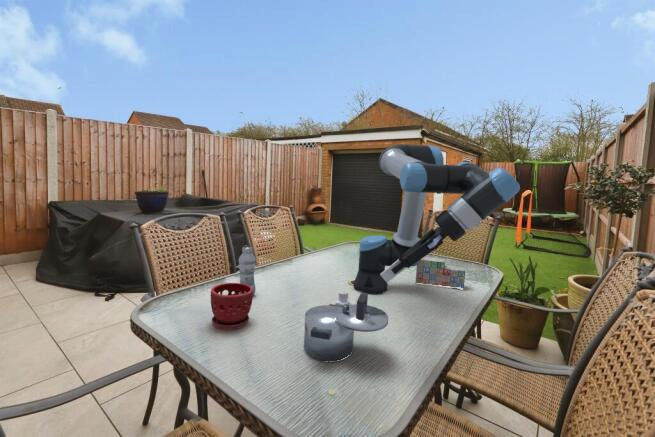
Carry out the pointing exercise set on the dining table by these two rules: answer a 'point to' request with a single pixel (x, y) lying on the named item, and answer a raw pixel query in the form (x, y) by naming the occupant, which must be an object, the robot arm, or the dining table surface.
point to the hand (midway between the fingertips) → (383, 278)
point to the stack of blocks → (439, 273)
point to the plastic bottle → (247, 267)
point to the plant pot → (231, 305)
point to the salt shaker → (342, 298)
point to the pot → (326, 335)
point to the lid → (361, 316)
